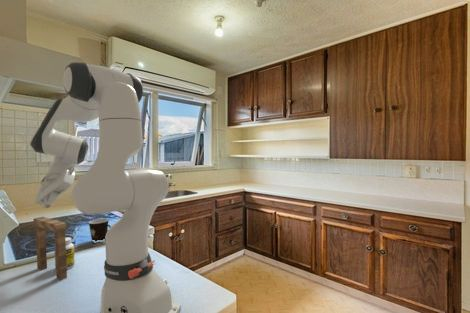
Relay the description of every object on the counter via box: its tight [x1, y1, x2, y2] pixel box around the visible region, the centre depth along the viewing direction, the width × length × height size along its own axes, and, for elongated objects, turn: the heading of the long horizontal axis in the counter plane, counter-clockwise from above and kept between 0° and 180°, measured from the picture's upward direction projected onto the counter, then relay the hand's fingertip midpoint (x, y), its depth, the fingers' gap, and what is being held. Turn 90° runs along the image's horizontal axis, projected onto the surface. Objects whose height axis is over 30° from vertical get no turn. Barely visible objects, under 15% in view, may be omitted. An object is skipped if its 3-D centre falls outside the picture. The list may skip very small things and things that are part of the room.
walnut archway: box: [33, 216, 68, 281], centre depth 93 cm, size 18×3×20 cm, turn 59°
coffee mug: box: [88, 218, 112, 241], centre depth 124 cm, size 12×9×10 cm
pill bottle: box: [54, 236, 76, 270], centre depth 97 cm, size 6×6×11 cm
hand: (47, 206), depth 92 cm, fingers closed
